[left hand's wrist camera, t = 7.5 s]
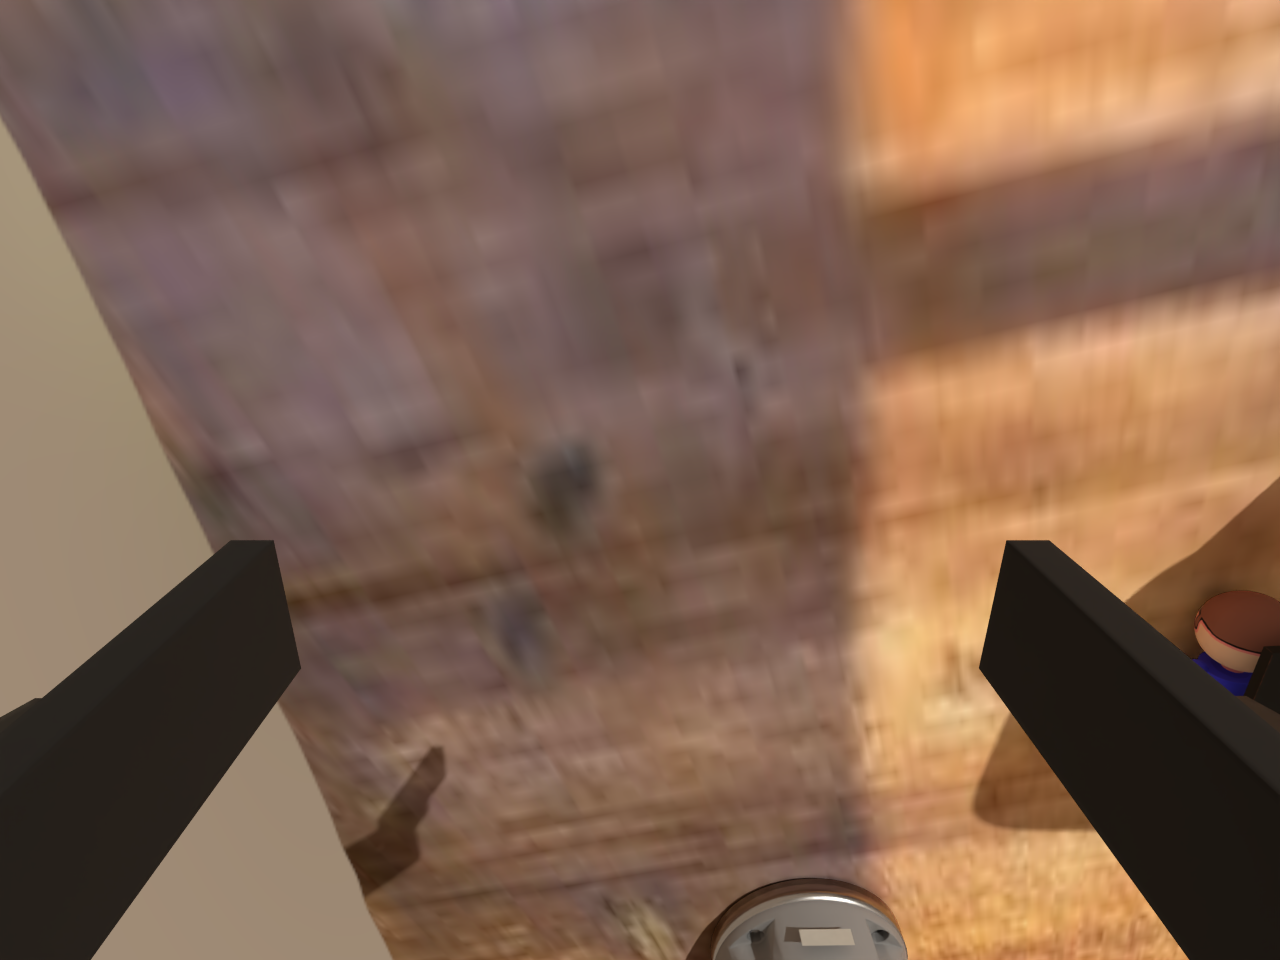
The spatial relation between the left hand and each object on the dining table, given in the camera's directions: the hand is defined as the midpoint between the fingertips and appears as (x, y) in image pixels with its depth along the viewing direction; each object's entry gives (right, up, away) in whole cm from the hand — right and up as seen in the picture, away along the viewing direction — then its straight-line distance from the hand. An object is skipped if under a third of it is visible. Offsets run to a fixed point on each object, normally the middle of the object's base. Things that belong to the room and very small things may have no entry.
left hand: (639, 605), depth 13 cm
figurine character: (+37, -11, +34) cm, 52 cm away
